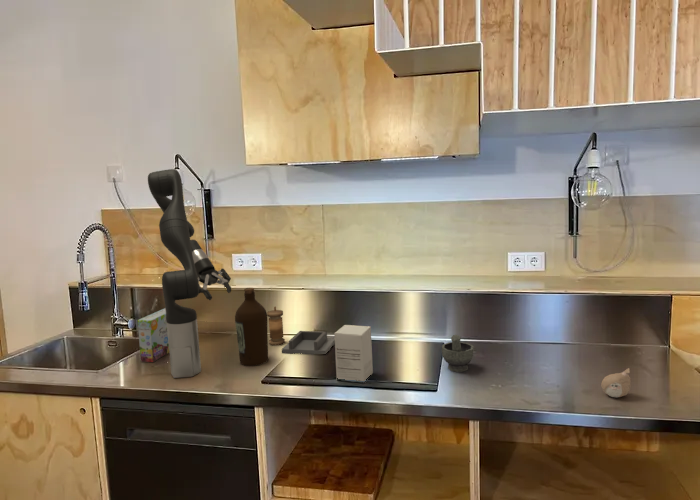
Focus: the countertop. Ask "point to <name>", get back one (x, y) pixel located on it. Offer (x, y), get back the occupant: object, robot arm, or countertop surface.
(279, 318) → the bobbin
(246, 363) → the olive oil
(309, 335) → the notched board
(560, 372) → the countertop surface
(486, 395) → the countertop surface
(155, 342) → the snack box
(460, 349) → the mortar and pestle
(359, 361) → the supplement box
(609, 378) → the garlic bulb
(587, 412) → the countertop surface
